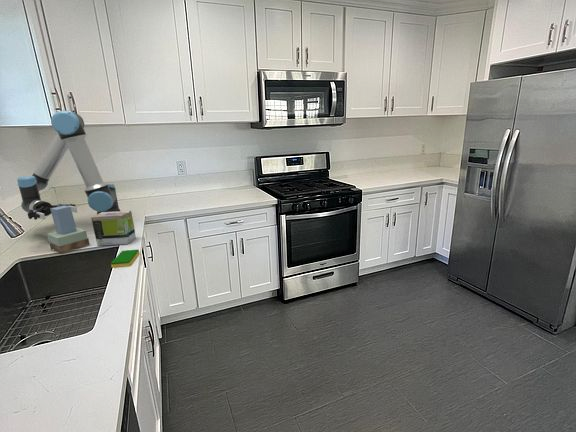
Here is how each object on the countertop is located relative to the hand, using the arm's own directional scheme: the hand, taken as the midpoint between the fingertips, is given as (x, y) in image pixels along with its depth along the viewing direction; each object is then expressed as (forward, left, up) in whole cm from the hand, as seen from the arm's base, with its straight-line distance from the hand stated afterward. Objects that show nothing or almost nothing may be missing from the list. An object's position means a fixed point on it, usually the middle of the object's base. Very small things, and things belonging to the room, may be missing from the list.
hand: (60, 213), depth 150 cm
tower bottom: (0, +3, -17) cm, 17 cm away
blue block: (0, +2, -9) cm, 9 cm away
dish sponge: (-4, +43, -17) cm, 46 cm away
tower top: (0, +3, -13) cm, 13 cm away
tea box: (-15, +16, -17) cm, 28 cm away
